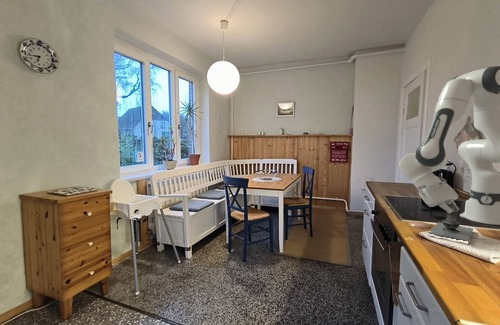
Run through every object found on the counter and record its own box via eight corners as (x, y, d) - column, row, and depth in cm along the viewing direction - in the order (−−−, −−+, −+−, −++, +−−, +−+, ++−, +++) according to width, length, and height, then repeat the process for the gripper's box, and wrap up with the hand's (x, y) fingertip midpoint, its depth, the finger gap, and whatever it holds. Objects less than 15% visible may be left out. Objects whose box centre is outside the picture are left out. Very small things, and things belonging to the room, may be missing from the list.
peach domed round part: (411, 222, 118) (411, 220, 117) (431, 226, 112) (431, 224, 112) (406, 226, 112) (406, 224, 112) (427, 230, 106) (427, 228, 106)
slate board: (437, 225, 112) (437, 222, 112) (472, 231, 103) (473, 228, 103) (429, 236, 99) (429, 232, 99) (468, 244, 91) (468, 240, 90)
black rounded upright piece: (463, 233, 98) (465, 204, 97) (447, 232, 99) (448, 203, 98) (454, 228, 104) (455, 200, 103) (438, 227, 105) (439, 200, 104)
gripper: (421, 182, 100) (448, 211, 93) (445, 178, 110) (472, 203, 102) (410, 191, 105) (435, 219, 97) (434, 186, 114) (458, 211, 107)
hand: (454, 211), depth 100 cm, fingers closed on black rounded upright piece, 3 cm apart
